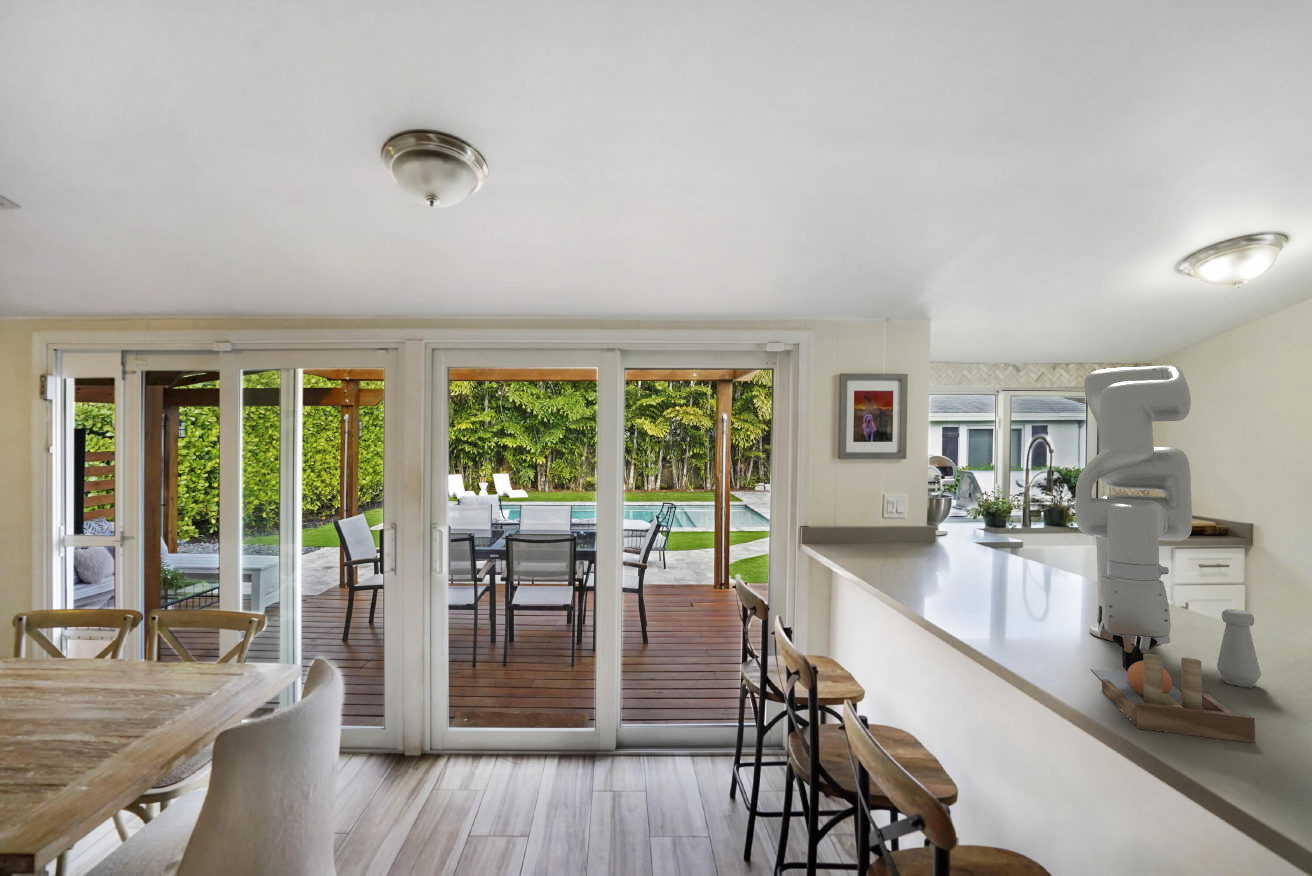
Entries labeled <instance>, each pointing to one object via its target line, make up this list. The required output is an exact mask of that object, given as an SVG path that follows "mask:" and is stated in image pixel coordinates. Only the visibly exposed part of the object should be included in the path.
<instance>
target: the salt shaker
mask: <svg viewBox="0 0 1312 876" xmlns="http://www.w3.org/2000/svg"><path fill="white" fill-rule="evenodd" d="M1221 619H1222V621H1223V623H1225V627H1224V632H1223V636H1222V641H1221V646H1220V649H1219V655H1218V660H1217V663H1216V667H1217V671H1218V673H1219V675H1220V676H1221V678H1222V680H1223V681H1224V682H1225V683H1226V684H1229V685H1233V686H1236V685H1237V686H1236V687H1240V688H1253V687H1254V686H1255V684H1256V683H1257V682H1258V681H1259V679H1260V678H1261V677H1262V672H1261V669H1260V665H1259V662H1258V656H1257V655H1256V649H1255V645H1254V641H1253V635H1252V632H1251V627H1253V626H1254V625H1255V616H1254V614H1252V612H1249V611H1246V610H1242V609H1236V608H1227V609H1224V610H1222V612H1221Z"/></svg>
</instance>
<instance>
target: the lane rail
mask: <svg viewBox="0 0 1312 876" xmlns="http://www.w3.org/2000/svg"><path fill="white" fill-rule="evenodd" d="M1101 691H1102V692H1103V693H1104V694H1105V695H1106V696H1107V697H1108V698H1109V700H1111V701H1112V702H1114V703H1115V704H1116V705H1117V706H1118V707H1119V708H1120V709H1121V710H1122V711H1123V712H1124V713H1125V714H1126V715H1125V714H1124V713H1123V712H1122V711H1121V710H1120V709H1119V708H1118V707H1117V706H1116V705H1115V704H1114V703H1113V704H1114V705H1115V706H1116V707H1117V708H1118V709H1119V710H1120V711H1121V712H1122V713H1123V714H1124V715H1125V716H1126V717H1127V716H1128V717H1127V718H1128V720H1130V719H1131V720H1130V721H1131V722H1132V723H1133V725H1134V726H1135V725H1136V726H1137V727H1138V728H1139V730H1145V731H1146V730H1148V731H1154V730H1157V731H1156V732H1162V731H1167V732H1166V733H1171V732H1173V733H1172V734H1179V733H1181V735H1188V736H1189V735H1190V736H1196V737H1197V736H1198V737H1205V738H1211V739H1212V738H1213V739H1222V740H1227V741H1228V740H1229V741H1235V742H1236V741H1237V742H1246V743H1252V744H1256V736H1255V735H1256V730H1255V729H1256V726H1255V724H1256V722H1255V721H1256V718H1255V717H1254V716H1252V715H1251V714H1246V713H1244V714H1243V713H1236V712H1232V711H1231V710H1229V709H1228V708H1227V707H1225V706H1224V705H1223V704H1222V703H1220V702H1219V701H1217V699H1215V698H1214V697H1212V696H1211V695H1210V694H1209V693H1206V692H1205V691H1203V690H1202V709H1203V710H1201V709H1192V708H1183V707H1174V706H1165V705H1156V704H1147V703H1138V702H1135V705H1134V704H1133V703H1132V702H1131V701H1130V700H1129V699H1128V698H1127V697H1126V696H1125V695H1124V694H1123V693H1122V692H1121V691H1120V690H1119V689H1118V688H1117V687H1116V686H1115V685H1114V684H1113V683H1112V682H1111V681H1110V680H1107V679H1102V681H1101ZM1136 726H1135V727H1136ZM1137 727H1136V728H1137ZM1138 728H1137V729H1138ZM1158 730H1159V731H1158Z"/></svg>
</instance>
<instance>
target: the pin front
mask: <svg viewBox="0 0 1312 876" xmlns="http://www.w3.org/2000/svg"><path fill="white" fill-rule="evenodd" d="M1163 705H1165V706H1174V707H1182V706H1181V705H1180V704H1179V703H1178V702H1176V701H1175V700H1174V699H1173V698H1172V697H1170V696H1169V695H1167V694H1163ZM1183 708H1184V707H1183Z"/></svg>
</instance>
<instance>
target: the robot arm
mask: <svg viewBox="0 0 1312 876" xmlns="http://www.w3.org/2000/svg"><path fill="white" fill-rule="evenodd" d="M1083 385H1084V386H1083V389H1084V395H1085V399H1086V402H1087V406H1088V407H1089V411H1090V412H1091V414H1092V415H1093V418H1094V420H1095V423H1096V426H1097V429H1098V454H1097V455H1095V457H1094V458H1092V459H1091V460H1090V461H1089V462H1088V463H1087V464H1086V465H1085V466H1084V468H1083V469H1082V470H1081V471H1080V474H1079V476H1078V479H1077V482H1076V486H1075V523H1076V526H1077V528H1078V530H1079V531H1080V532H1081V533H1083V534H1084V535H1087V536H1090V537H1095V540H1096V541H1095V542H1096V543H1095V544H1096V565H1097V566H1096V570H1097V572H1096V576H1097V578H1096V579H1097V581H1096V582H1097V583H1096V584H1097V585H1096V587H1097V590H1096V591H1097V593H1096V594H1097V604H1096V605H1097V606H1096V622H1097V623H1096V624H1094V623H1093V624H1091V625H1090V626H1089V633H1091V635H1093V636H1095V637H1099V638H1101V639H1103V640H1108V641H1112V642H1115V643H1116V644H1117V645H1118V646H1119V648H1121V653H1122V654H1121V663H1122V667H1123V668H1124V670H1125V671H1126V673H1127V672H1128V669H1129V667H1130V666H1131V665H1132V664H1134V663H1136V662H1138V661H1143V655H1144V654H1149V651H1150V650H1151V649H1152V648H1154V647H1155V646H1156V645H1165V644H1171V637H1170V633H1171V613H1170V605H1169V599H1168V594H1167V590H1166V587H1165V584H1164V583H1165V582H1164V581H1162V580H1161V579H1162V576H1163V575H1169V572H1170V570H1169V567H1167V566H1162V565H1161V564H1160V541H1165V542H1167V541H1169V542H1171V541H1172V542H1180V541H1185V540H1188V538H1189V537H1190V535H1191V533H1192V529H1193V503H1192V480H1191V477H1192V476H1191V465H1190V461H1189V458H1188V456H1187V454H1186V453H1185V452H1184V451H1183V450H1182V449H1179V448H1176V447H1171V446H1154V445H1155V444H1154V430H1153V427H1154V426H1153V422H1180V421H1183V420H1185V419H1186V418H1187V417H1188V415H1189V413H1190V409H1191V402H1192V400H1191V399H1192V398H1191V392H1190V387H1189V385H1188V382H1187V379H1186V378H1185V375H1184V372H1183V371H1182V369H1180V367H1178V366H1175V365H1152V366H1134V367H1133V366H1132V367H1130V366H1129V367H1115V368H1114V367H1113V368H1112V367H1111V368H1106V369H1099V370H1095V371H1092V372H1090V373H1089V374H1088V375H1086V377H1085V379H1084V383H1083ZM1099 480H1100V481H1101V483H1102V484H1103V485H1104V486H1106V487H1108V488H1113V489H1120V490H1121V489H1123V490H1144V491H1145V490H1146V491H1149V490H1150V491H1151V490H1152V491H1160V492H1161V493H1162V494H1163V495H1164V496H1159V495H1158V496H1153V495H1137V494H1136V495H1135V494H1134V495H1133V494H1111V495H1110V494H1109V495H1108V494H1107V495H1104V496H1101V497H1093V487H1094V486H1095V484H1096V483H1097V481H1099ZM1133 645H1134V646H1133Z"/></svg>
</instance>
